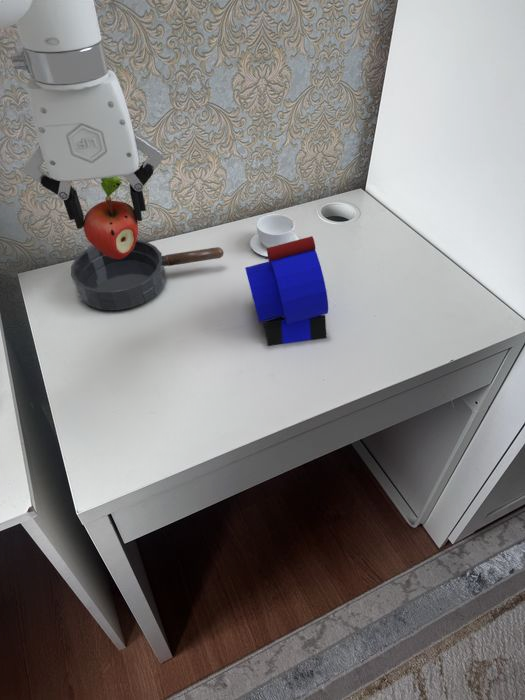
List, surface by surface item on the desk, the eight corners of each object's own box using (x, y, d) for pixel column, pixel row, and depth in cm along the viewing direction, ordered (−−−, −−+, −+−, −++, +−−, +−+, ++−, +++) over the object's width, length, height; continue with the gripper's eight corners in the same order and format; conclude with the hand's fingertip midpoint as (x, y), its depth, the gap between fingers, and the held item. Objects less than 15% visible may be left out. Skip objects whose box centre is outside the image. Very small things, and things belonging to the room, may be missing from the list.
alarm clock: (330, 337, 77) (340, 259, 66) (254, 347, 75) (252, 270, 65) (311, 289, 85) (317, 214, 74) (243, 298, 84) (239, 222, 73)
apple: (147, 263, 63) (131, 193, 56) (94, 273, 62) (71, 202, 55) (140, 233, 68) (124, 165, 61) (91, 241, 67) (69, 173, 60)
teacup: (309, 251, 93) (311, 230, 90) (263, 264, 90) (263, 243, 87) (285, 226, 100) (286, 205, 96) (242, 238, 97) (241, 217, 93)
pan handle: (160, 269, 86) (158, 260, 84) (159, 263, 87) (157, 253, 85) (224, 259, 87) (223, 250, 86) (222, 253, 89) (221, 244, 87)
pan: (77, 319, 80) (69, 299, 77) (79, 265, 91) (71, 245, 88) (170, 304, 83) (166, 283, 80) (161, 253, 93) (157, 233, 90)
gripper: (-30, 82, 45) (37, 244, 58) (157, 67, 48) (180, 226, 60) (-16, 59, 50) (42, 213, 63) (152, 47, 53) (174, 197, 66)
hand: (109, 218), depth 62 cm, fingers closed on apple, 6 cm apart
